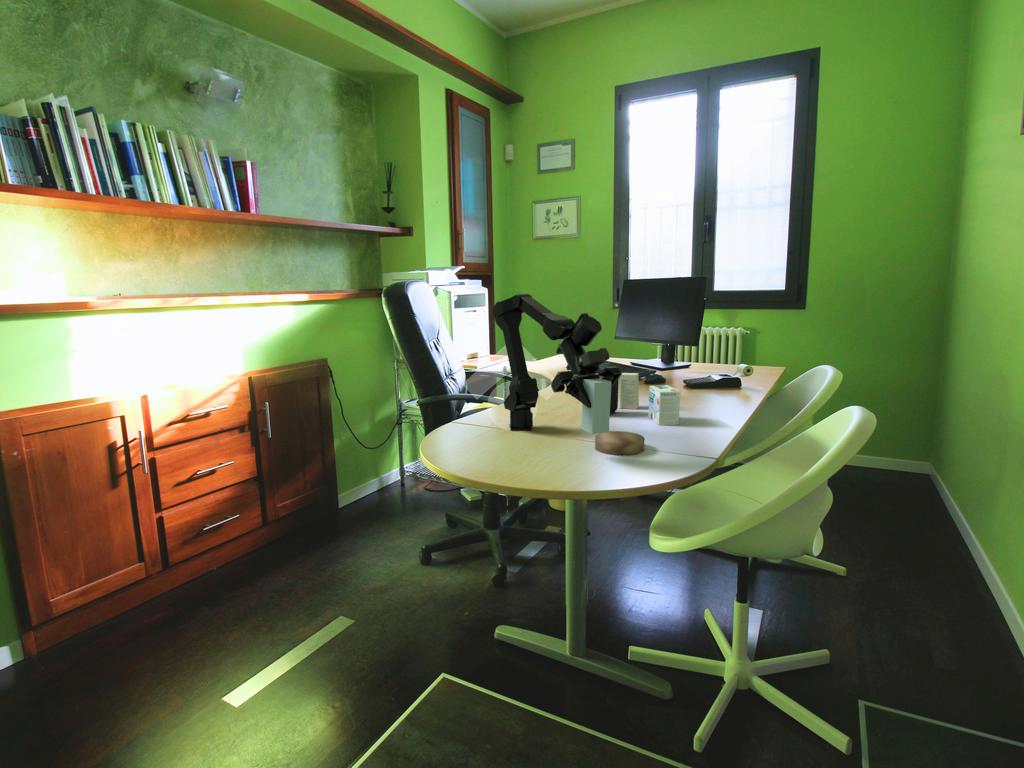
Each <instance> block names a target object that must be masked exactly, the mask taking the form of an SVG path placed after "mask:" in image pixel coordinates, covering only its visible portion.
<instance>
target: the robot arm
mask: <svg viewBox="0 0 1024 768" xmlns="http://www.w3.org/2000/svg"><path fill="white" fill-rule="evenodd" d="M492 307H493V308H492V315H493V317H494V321H495V324H496V326H497V327H498V328H499V329H500V330H501V331H502V333H503V338H504V343H505V348H506V353H507V359H508V364H509V368H510V373H511V380H510V383H509V385H508V390H509V391H508V392H509V393H508V395H507V397H505V400H503V406H504V407H503V408H504V409H505V410H507V411H509V424H508V425H509V430H510V431H525V430H526V431H529V430H530V431H531V429H533V428H532V427H533V426H534V417H533V416H534V414H533V412H532V408H536V406H537V402H538V398H539V392H540V390H539V388H538V381H537V378H534V377H533V378H532V377H531V375H530V374H529V372H528V365H527V362H526V357H525V351H524V347H523V342H522V337H521V332H520V326H521V323H522V319H523V314H526V316H528V317H530V319H532V320H533V321H535V322H536V323H537V324H539V325H540V326H541V327H542V332H543V333H544V334H545V336H547V338H548V339H549V340H550V341H553V342H554V341H561V340H562V341H561V343H559V344H557V345H558V347H557V349H556V354H557V355H563V357H564V359H565V361H566V364H567V365H566V367H565V369H566V370H564V371H557V373H556V375H555V376H554V378H553V379H552V381H551V383H550V384H551V385H550V386H551V389H552V392H553V393H562V392H564V393H565V394H566V395H570V396H571V397H572V398H574V399H576V400H577V401H578V402H580V403H581V404H582V405H583V404H584V405H585V406H586V407H588V408H591V406H592V405H591V402H590V400H589V397H588V395H587V393H586V391H585V389H584V386H583V383H584V379H599V378H600V379H604V380H607V381H611V386H613V385H614V384H615V383H616V381H617V380H618V381H619V380H620V376H621V375H622V373H623V372H622V370H621V368H620V367H619V366H607V367H604V368H603V370H602V371H601V372H602V373H601V372H600V373H598V372H596V371H599V370H600V365H601V364H605V363H606V361H609V360H610V352H609V351H608V349H607V348H606V347H603V348H602V347H601V348H599V349H597V350H588V351H586V349H585V347H588V346H589V345H591V344H592V342H593V341H594V339H596V337H597V336H598V335H599V334H600V332H601V331H602V324H601V322H600V321H598V319H596V318H595V317H592V316H590V314H589V313H588V312H585V313H582V312H581V313H580V315H579V317H578V318H577V320H576V321H574V320H573V318H570V317H568V316H566V315H561V314H557V313H555V312H553V311H551V310H550V309H549V308H547V307H546V306H545V305H543V304H542V303H541V302H539V301H537V299H535V298H533V296H532V295H531V294H529V293H517V294H515V295H513V296H511V297H509V298H507V299H504V300H501V301H500V300H499V301H497V302H496V303H495V304H494V306H492Z"/></svg>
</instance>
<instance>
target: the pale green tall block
mask: <svg viewBox="0 0 1024 768" xmlns="http://www.w3.org/2000/svg"><path fill="white" fill-rule="evenodd" d="M583 386H584V389H585V391H586V393H587V395H588V397H589V400H590V402H591V405H592V406H591V408H588V407H586V406H585V405H584V404H582V408H581V409H582V410H581V411H582V412H581V427H580V428H581V430H582V431H585V432H586V433H588V434H591V435H595V434H596V435H597V434H599V433H606V432H609V431H610V417H611V415H610V414H611V413H610V400H611V381H607V380H604V379H600V378H599V379H584V383H583Z"/></svg>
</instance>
